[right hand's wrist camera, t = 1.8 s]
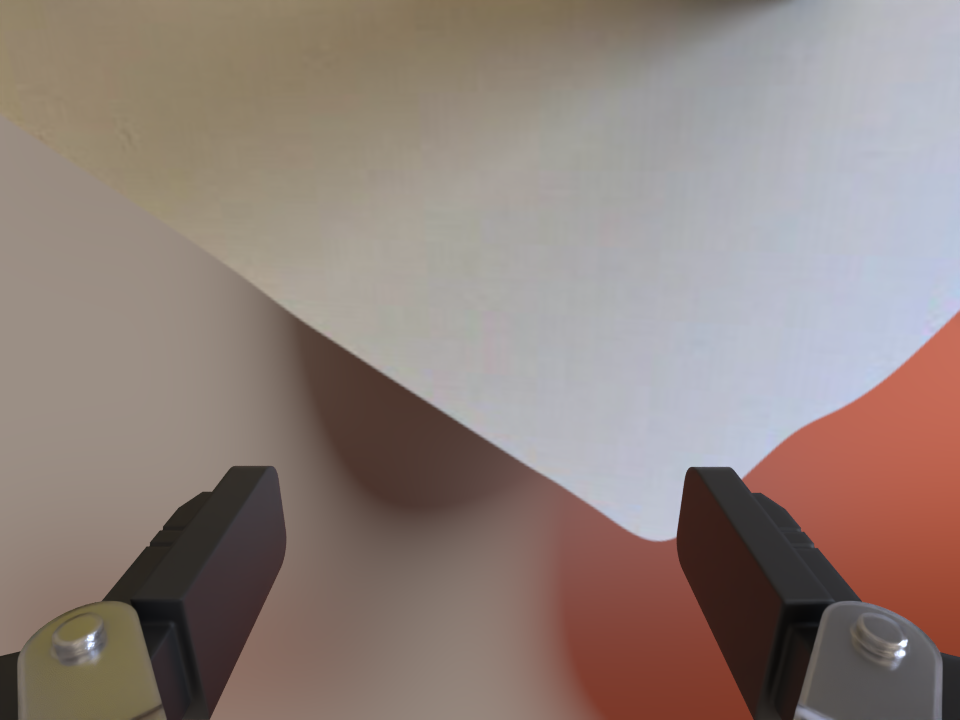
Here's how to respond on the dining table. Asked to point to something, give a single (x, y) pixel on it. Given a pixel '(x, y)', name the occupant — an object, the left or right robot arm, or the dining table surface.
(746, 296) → the dining table surface
